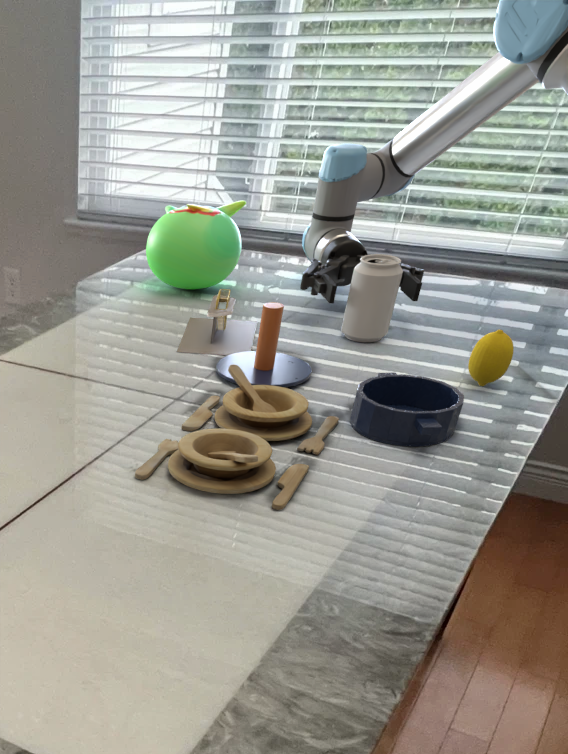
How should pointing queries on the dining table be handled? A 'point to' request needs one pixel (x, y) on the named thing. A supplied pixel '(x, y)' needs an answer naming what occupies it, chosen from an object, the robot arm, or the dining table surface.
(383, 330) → the can
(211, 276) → the toy bird
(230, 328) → the platform
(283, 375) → the pan lid
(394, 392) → the pan
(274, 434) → the tableware set
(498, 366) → the lemon
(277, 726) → the dining table surface
